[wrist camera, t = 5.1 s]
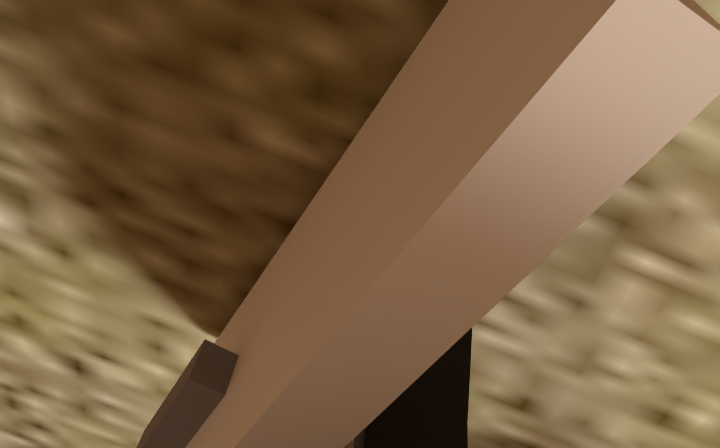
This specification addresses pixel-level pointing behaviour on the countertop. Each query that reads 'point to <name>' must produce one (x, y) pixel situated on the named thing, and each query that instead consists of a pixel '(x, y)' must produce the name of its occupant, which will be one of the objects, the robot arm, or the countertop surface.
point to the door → (443, 210)
